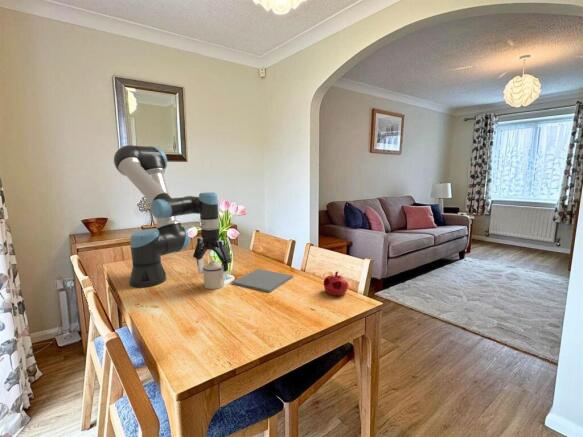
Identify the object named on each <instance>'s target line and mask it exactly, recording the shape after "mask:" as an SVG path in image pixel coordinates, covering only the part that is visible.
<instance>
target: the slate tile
mask: <svg viewBox="0 0 583 437" xmlns="http://www.w3.org/2000/svg"><path fill="white" fill-rule="evenodd" d="M293 276H294V275H293V274H292V275H291V274H287V273H281V272H276V271H271V270H268V269H267V270H266V269H262V268H261V269H260V268H257V269H255V270H252V271H251V272H249V273H247V274H244V275H243V276H241V277H239V278H236V279H235V280H233V281H232V285H236V286H240V287H245V288H248V289H253V290H256V291H262V292H266V293H271V292H273V291H275V290H276V289H278V288H279V287H280V286H282V285H284V284H285V283H286V282H289V280H291V279H293V278H294V277H293Z"/></svg>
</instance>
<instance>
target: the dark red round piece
mask: <svg viewBox="0 0 583 437" xmlns="http://www.w3.org/2000/svg"><path fill="white" fill-rule="evenodd" d="M338 274H339V271H335V273H334V274H333V273H329V274H328V275H327V276H326V277H325V278H324V280H323V287H324V288H323V289H324V291H325V292H326V294H328V295H331V296H334V297H338V296H339V297H340V296H343V295H344V294H345V293H347V291H348V287H349V284H348V281H347V280H346V279H345V278H344V277H343V276H342V274H340V275H338Z"/></svg>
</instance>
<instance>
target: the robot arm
mask: <svg viewBox="0 0 583 437" xmlns="http://www.w3.org/2000/svg"><path fill="white" fill-rule="evenodd" d="M113 164H114V166H115V168H116V170H117V171H118V172H119V173H120V174H121V175H123V176H125V177H127V179H128V180H129V181H130V182H131V183H132V184H133V185H134V187H136V188H137V190H138V191H140V193H141V194H142V195H143V196H144V197H145V198H146V199H147V201H148V202H149V203H150V211H151V214H152V216H153V217H154V218H156V221H157V226H156V228H148V229H142V230H138V231H136V232H134V233H132V234H131V236H130V241H129V242H130V244H129V245H130V251H131V252H130V253H131V264H132V268H131V271H130V272H131V273H130V276H129V285H130V286H131V287H134V288H147V287H148V288H149V287H154V286H157V285H160V284H162V283H164V282H165V281H166V280H167V273H166V271H165V268H164V266H163V265H162V258H161V256H166V255H170V254H173V253H179V252H181V251H183V250H185V249H187V247H188V246H189V243H190V240H191V238H190V237H189V236H188V234H187V231H188V232H189V230H188V229H187V227H185V226H182V224H181V222H180V221H179V220H177V218H176V217H179V216H185V215H192V214H193V215H194V214H199V215H200V231H201V232H200V233H201V234H200V235H201V237H199V238H197V241H196V242H197V243H196V246H195V249H194V252H193V255H192V257H193V258H194V259H196V263H197V269H198V270H197V271H198V275H201V274H204V271H203V266H204V265H205V264H204V263H205V262H204V261H205V260H204V258H203V257H204V256H205V254H206V252H207V251H208V250H210V251H213V252H215V254H216V256H217V258H218V259H219V261H220V263H222V264H221V274H222V279H224V280H225V279H226V278H228V269H229V265H228V264H229V263H232V261H233V260H232V258H231V256H230V253H229V251H228V248H227V247H226V243H225V240H224V239H223V240H220V239H219V237H220V228H219V227H220V223H219V222H220V221H219V200H218V194H217V193H216V192H213V191H211V192H210V191H209V192H208V191H207V192H204V191H203V192H200V193H199V194H198V196H193V195H186V196H183V197H171V195H170V194H169V191H168V187H167V184H166V180H165V177H164V174H165V172H166V168H167V166H168V157H167V155H166V153H165V152H164V150H163V149H161V148H160V147H155V146H143V145H131V144H130V145H129V144H127V145H124V146H121V147H119V148H118V149H117V150H116V152H115V154H114V157H113Z"/></svg>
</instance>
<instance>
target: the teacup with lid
mask: <svg viewBox="0 0 583 437" xmlns="http://www.w3.org/2000/svg"><path fill="white" fill-rule="evenodd" d="M221 264H222V262H218V261H216V259H212V260H210V262H209V263H206V264H204V266H203V271H204V273H203V286H204V287H205V289H207V290H217V289H221V288H223V287H224V286H225V278H224V279H222V274H221Z"/></svg>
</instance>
